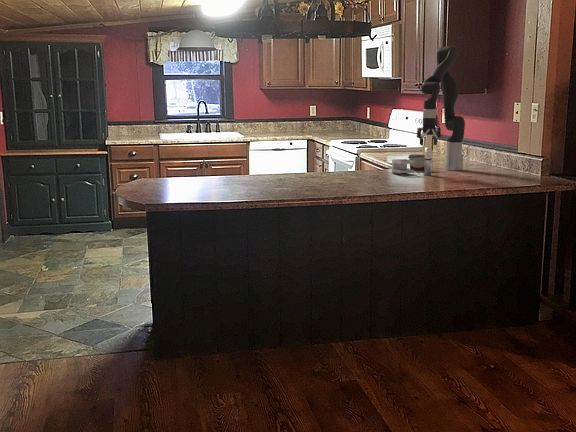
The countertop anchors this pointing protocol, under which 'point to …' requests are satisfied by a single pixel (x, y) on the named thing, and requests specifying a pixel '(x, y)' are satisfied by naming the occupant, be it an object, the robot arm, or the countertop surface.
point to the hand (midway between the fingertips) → (428, 145)
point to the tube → (428, 161)
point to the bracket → (401, 166)
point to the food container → (417, 162)
